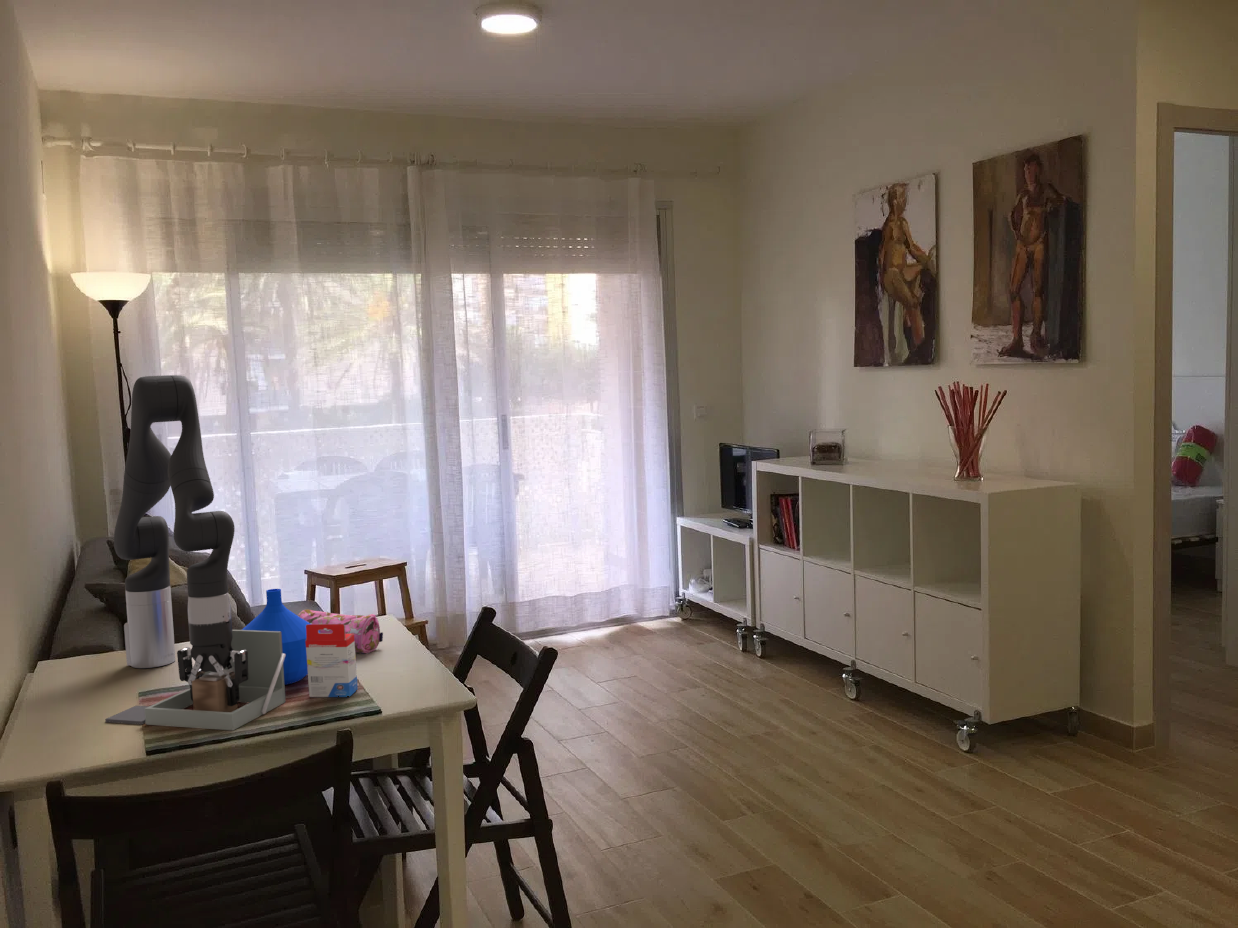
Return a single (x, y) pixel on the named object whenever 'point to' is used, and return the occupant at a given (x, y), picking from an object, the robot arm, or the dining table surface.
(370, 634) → the pencil case
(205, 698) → the module
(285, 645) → the blue funnel
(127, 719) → the mat
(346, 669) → the ink box
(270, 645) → the case
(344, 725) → the dining table surface
